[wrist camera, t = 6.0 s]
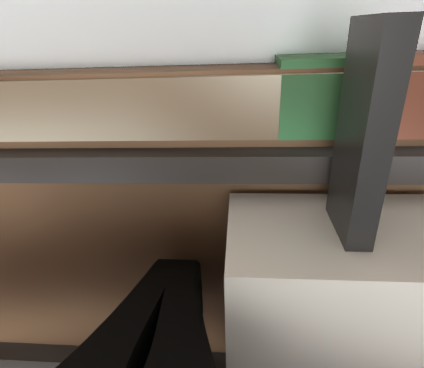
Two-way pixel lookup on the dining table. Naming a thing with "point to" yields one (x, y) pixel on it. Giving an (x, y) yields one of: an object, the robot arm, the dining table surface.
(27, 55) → the dining table surface
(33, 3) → the dining table surface
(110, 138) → the base
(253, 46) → the dining table surface
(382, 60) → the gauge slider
